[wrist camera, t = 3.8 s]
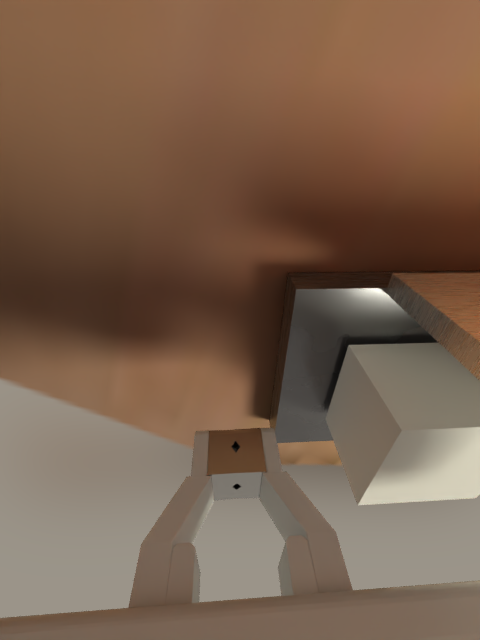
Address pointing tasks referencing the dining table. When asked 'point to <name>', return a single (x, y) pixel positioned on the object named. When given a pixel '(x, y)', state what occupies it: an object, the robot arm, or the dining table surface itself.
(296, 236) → the dining table surface
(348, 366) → the white block
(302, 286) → the bench
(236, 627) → the robot arm
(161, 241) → the dining table surface
